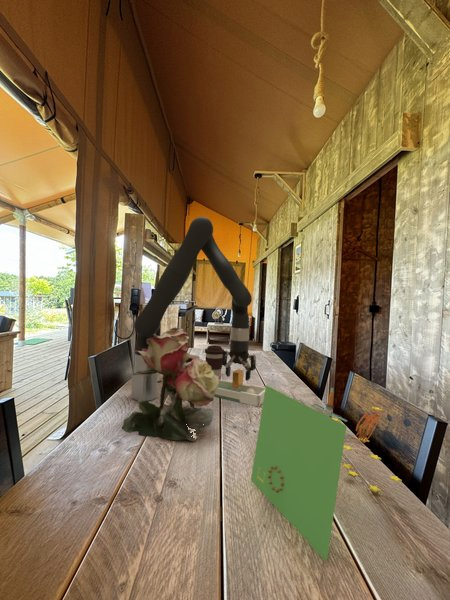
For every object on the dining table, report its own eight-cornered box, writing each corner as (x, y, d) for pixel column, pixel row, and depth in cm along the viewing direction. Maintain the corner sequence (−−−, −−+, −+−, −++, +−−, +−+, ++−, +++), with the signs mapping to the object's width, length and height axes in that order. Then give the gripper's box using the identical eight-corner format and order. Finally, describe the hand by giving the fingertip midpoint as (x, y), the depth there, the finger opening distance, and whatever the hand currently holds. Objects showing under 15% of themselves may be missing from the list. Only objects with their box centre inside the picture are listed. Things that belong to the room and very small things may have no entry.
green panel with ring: (412, 529, 56) (428, 408, 57) (324, 564, 44) (346, 411, 45) (326, 468, 75) (339, 378, 76) (248, 480, 64) (265, 374, 65)
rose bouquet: (210, 446, 77) (215, 336, 76) (113, 432, 82) (116, 330, 82) (227, 409, 102) (230, 326, 102) (152, 400, 108) (154, 322, 107)
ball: (253, 391, 111) (244, 388, 112) (252, 401, 111) (243, 398, 113) (257, 388, 114) (248, 385, 116) (256, 398, 114) (247, 395, 116)
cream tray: (259, 406, 106) (259, 396, 106) (204, 394, 117) (204, 384, 117) (268, 397, 116) (268, 388, 116) (217, 386, 127) (217, 377, 127)
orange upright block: (237, 395, 113) (237, 373, 113) (231, 394, 114) (232, 372, 114) (243, 391, 118) (244, 370, 118) (237, 390, 119) (238, 369, 119)
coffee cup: (223, 379, 138) (224, 348, 138) (202, 378, 138) (203, 347, 138) (223, 373, 148) (224, 345, 148) (204, 372, 148) (205, 344, 148)
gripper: (219, 337, 115) (218, 377, 116) (252, 342, 109) (250, 383, 109) (228, 335, 122) (226, 373, 122) (259, 339, 116) (257, 379, 116)
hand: (237, 378), depth 116 cm, fingers open, 8 cm apart
